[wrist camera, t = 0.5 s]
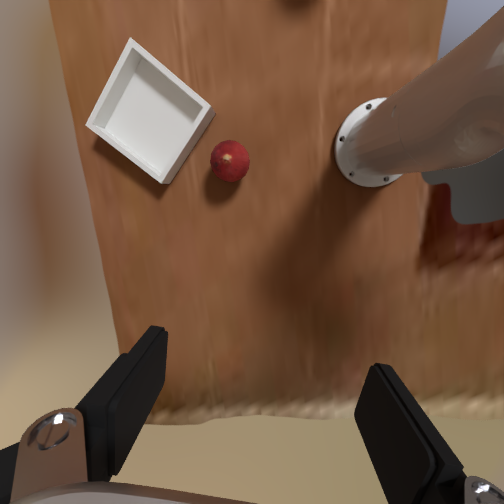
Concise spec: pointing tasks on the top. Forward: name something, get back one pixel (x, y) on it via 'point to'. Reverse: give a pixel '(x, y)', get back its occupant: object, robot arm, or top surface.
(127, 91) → the box
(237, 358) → the top surface
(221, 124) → the top surface
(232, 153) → the onion
